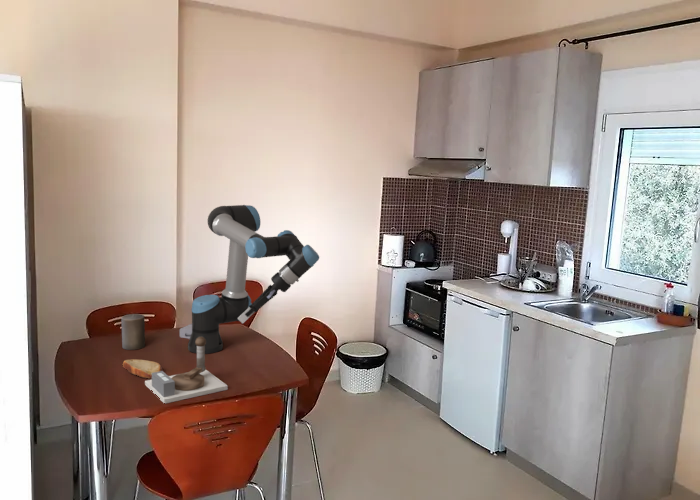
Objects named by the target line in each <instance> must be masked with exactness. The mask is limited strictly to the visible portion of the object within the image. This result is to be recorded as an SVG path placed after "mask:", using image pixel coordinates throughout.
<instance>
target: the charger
mask: <svg viewBox="0 0 700 500" xmlns="http://www.w3.org/2000/svg"><path fill="white" fill-rule="evenodd" d="M191 334H192V323H189V324H187V325H186V326H183V327H181V328H179V338H180V339H181V338H182V339H183V338H184V339H188V340H190V337H191Z"/></svg>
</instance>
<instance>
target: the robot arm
mask: <svg viewBox="0 0 700 500" xmlns="http://www.w3.org/2000/svg"><path fill="white" fill-rule="evenodd" d="M207 225H208V226H207V227H208V228H209V230H210V231H211V232H213V234H216V235H217V236H218V237H225V238H227V239H229V246H228V256H227V257H228V258H227V266H226V267H227V269H226V281H225V288H224V289H223V290H222V291H221V296H220V297H219V295H217V294H205V295H200V296H198V297H196V298H194V299H193V300H192V305H191V324H192V334H191V337H190V339H188V343H187V349H188V351H189V352H191V353H194V354H197V345H196V343H195V341H196V339H197V338H198V337H204V338H205V339H206V344H205V355H207V354H213V353H217V352H221V351H222V350H223V348H224V343H223V340H222V336H221V333H220V325H221V324H226V323H233V322H240V323H241V324H244V323H245V322H246V321H247V320H249V318H250V317H252V316H253V315H254V314H255V313H257V312H259V310H260V309H261V308H263V306H265V305H266V304H267V303H268V302H269V301H270V300H272V299H273V298H274V297H275V296H277V295H278V291H281V292H283V293H286V292H287V291H288V290H289V289H290V288H291V286H292V285H294V284H295V283H296V282H297V283H299V281H300V280H299V279H300V278H302V276H303V275H305V273H307V271H309V270H310V269H311V268H312V267H314V265H316V263H317V262H318V261H319V259H320V255H319V254H318V252H317V251H316V250H315V249H314V248H313V247H312V246H311V245H310V244H306V245H304V244H303V243H302V241H300V239H299V237H298V236H297V235H296V234H294V232H293V231H291V230H288V229H285V230H283V231H281V232H279V233H278V234H277V236H263V235H262V234H259V232H258V231H259V230H260V227H261V216H260V213H259V211H258V210H257V208H256V207H255V206H253V205H249V204H248V205H247V204H246V205H245V204H240V205H239V204H237V205H220V206H217V207H215V208H213V209H212V210H211V211H210V213H209V214H208V216H207ZM282 256H286V257H287V258H288V261H287V262H286V263H285V264H284V265H283V266H282V267H280V269H279V270H278V272H276V273H274V275H273V276H271V278H270V279H271V282H272V283H273V284H269V285H268V286H267V288H266V289H264V291H263V292H262V293H261V294H260V295H259V296H258V297H257V298H256V299H255V300H254V301H253V302H252V298H251V297H250V295H249V293H248V292H247V291H246V284H247V283H246V282H247V281H246V280H247V273H248V272H247V271H248V261H249V258H251V259H262V258H270V257H282Z"/></svg>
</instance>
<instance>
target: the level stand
mask: <svg viewBox="0 0 700 500" xmlns="http://www.w3.org/2000/svg"><path fill="white" fill-rule="evenodd" d="M178 374H179V373H177V374H172V375H168V374H166V372H164V370H163V371H160V372H154V373H152V379H147V380H144V385H145V386H146V388H148V389H149V390H150V391H151V390H152V391H153V392H152V391H151V392H152V393H153V394H154V395H155V394H156V395H157V396H158V397H159V398H160V399H159V398H158V397H157V396H156V395H155V396H156V397H157V398H158V399H159V400H160V402H162V403H163V404H164V403H165V404H170V403H173V402H178V401H183V400H186V399H191V398H196V397H199V396H205V395H208V394H209V395H210V394H214V393H219V392H222V391H223V392H224V391H227V390H229V388H228V387H229V386H228V385H227V383H225V382H223V381H222V380H220V379H219V378H218V377H216V376H215V375H214V374H213V373H211V372H210V371H209V370H207V369H206V370H205V371H204V372H201V373H200V374H201V375H203V376H204V385H203V386H202V387H200V388H197V389H193V390H178V389H175V381H173V380H172V379H171V378H172V377H173V376H175V375H178Z"/></svg>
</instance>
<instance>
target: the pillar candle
mask: <svg viewBox="0 0 700 500" xmlns="http://www.w3.org/2000/svg"><path fill="white" fill-rule="evenodd" d="M120 319H121V320H120V321H121V345H122V349H124V350H130V351H133V350H140V349H144V348H145V347H146V336H145V333H146V330H145V323H146V322H145V315H143V314H140V313H132V314H130V313H129V314H126V315H123V316H121V318H120Z"/></svg>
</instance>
